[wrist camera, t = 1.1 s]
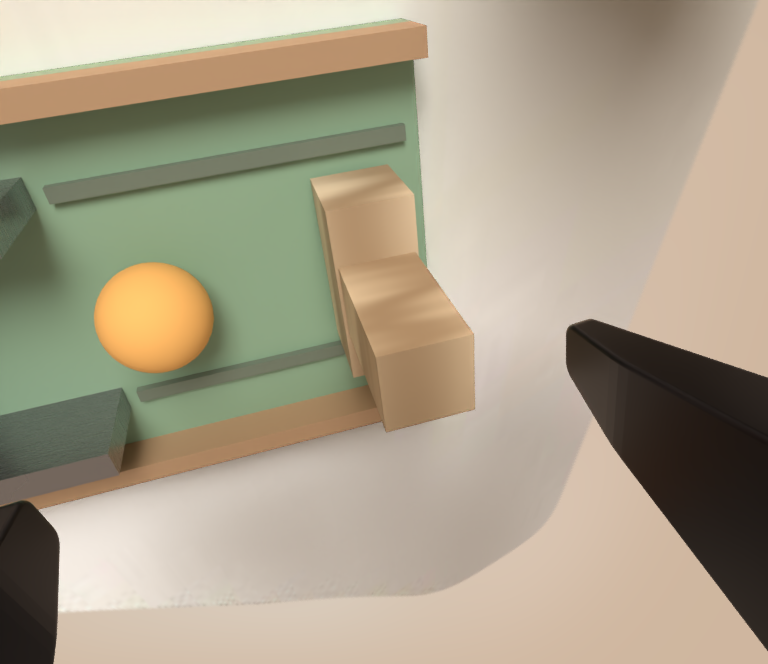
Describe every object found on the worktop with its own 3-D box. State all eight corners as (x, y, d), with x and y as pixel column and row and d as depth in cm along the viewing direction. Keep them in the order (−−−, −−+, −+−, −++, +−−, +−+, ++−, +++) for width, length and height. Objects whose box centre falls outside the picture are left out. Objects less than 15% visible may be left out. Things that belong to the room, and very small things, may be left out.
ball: (197, 234, 19) (194, 283, 16) (224, 322, 20) (227, 380, 18) (86, 256, 18) (63, 311, 15) (125, 344, 20) (111, 407, 17)
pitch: (401, 18, 18) (426, 25, 16) (427, 369, 25) (446, 404, 23) (-255, 113, 15) (-329, 137, 13) (3, 473, 23) (-18, 523, 21)
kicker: (387, 164, 19) (476, 266, 12) (402, 316, 22) (479, 456, 16) (309, 178, 18) (361, 290, 12) (337, 330, 22) (389, 481, 15)
